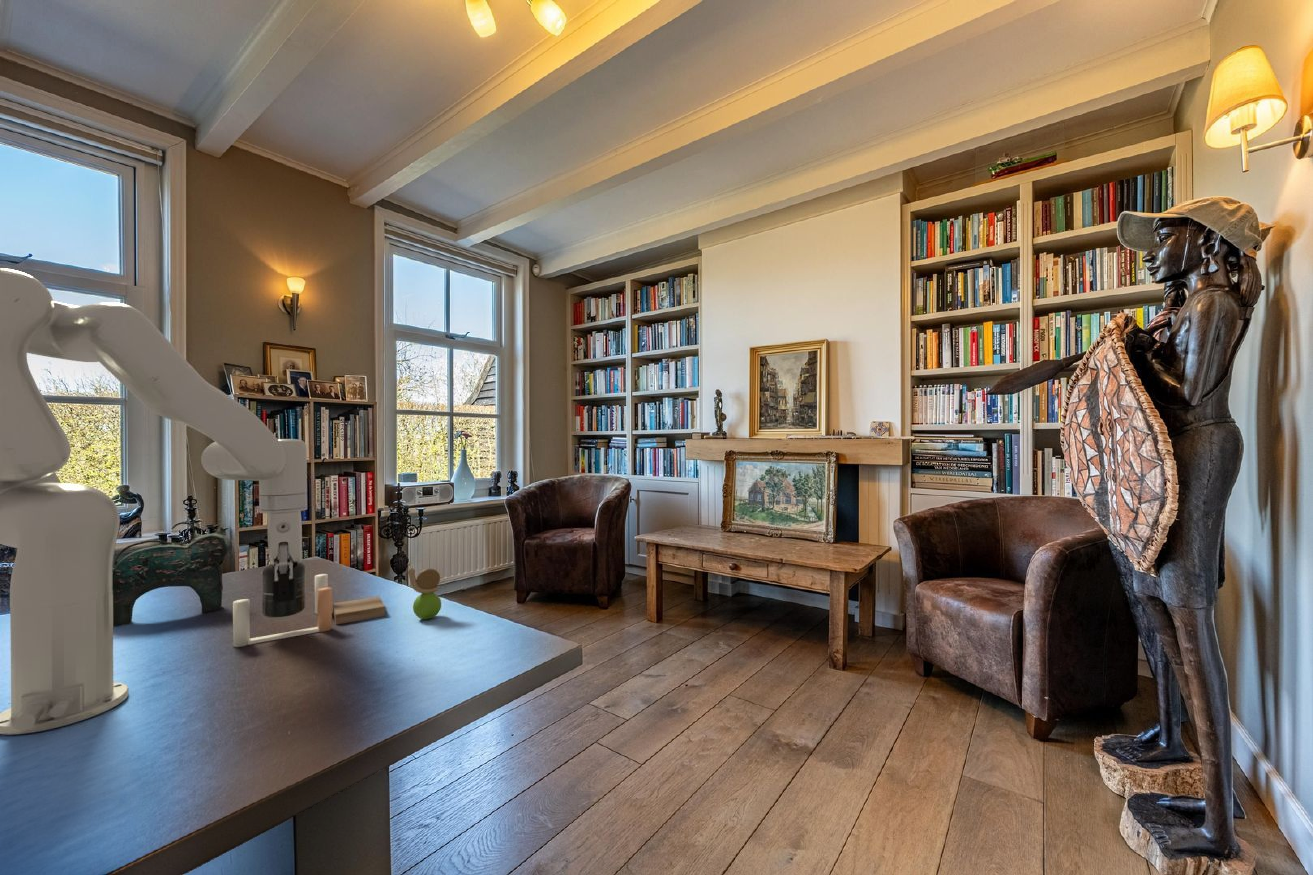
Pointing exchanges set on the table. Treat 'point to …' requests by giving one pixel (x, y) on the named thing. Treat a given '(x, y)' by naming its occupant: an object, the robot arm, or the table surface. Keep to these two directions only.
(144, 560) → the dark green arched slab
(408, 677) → the table surface
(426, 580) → the snail figurine
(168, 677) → the table surface
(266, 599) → the supplement bottle
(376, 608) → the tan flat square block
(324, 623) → the post fence
